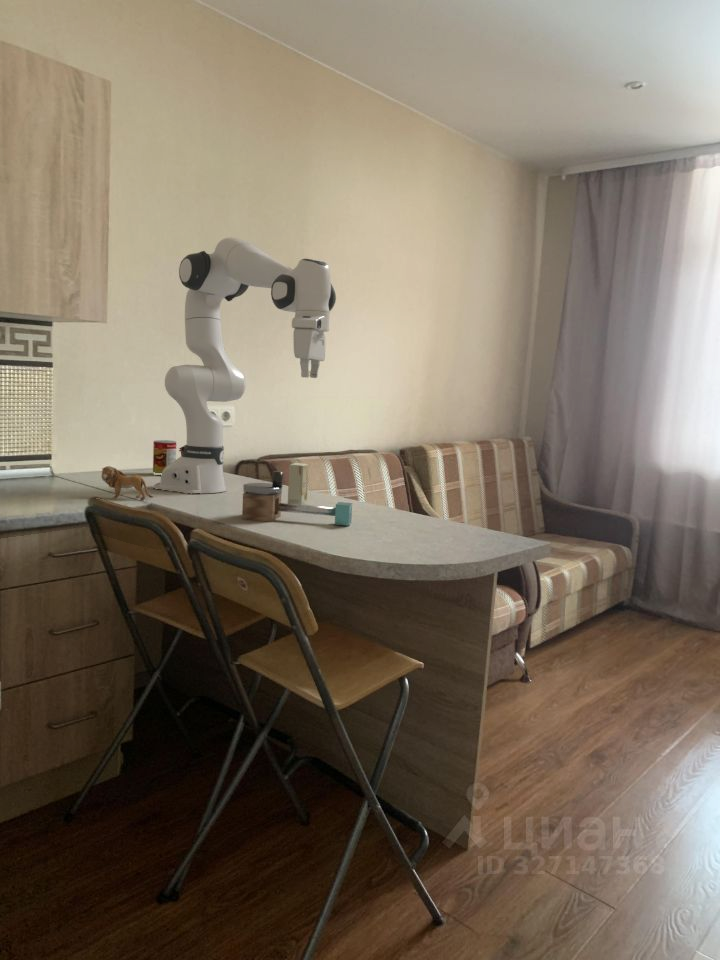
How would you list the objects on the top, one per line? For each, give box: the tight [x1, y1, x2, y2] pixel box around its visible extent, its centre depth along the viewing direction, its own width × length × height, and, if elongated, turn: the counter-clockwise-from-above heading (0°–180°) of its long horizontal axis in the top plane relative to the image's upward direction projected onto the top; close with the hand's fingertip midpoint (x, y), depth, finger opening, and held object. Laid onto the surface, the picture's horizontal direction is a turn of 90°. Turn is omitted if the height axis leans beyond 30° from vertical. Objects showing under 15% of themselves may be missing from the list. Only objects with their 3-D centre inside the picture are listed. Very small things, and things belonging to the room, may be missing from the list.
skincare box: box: [287, 462, 310, 505], centre depth 211 cm, size 6×4×12 cm
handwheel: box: [242, 470, 284, 495], centre depth 190 cm, size 10×10×6 cm
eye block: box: [241, 492, 282, 522], centre depth 190 cm, size 8×8×7 cm
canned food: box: [152, 439, 177, 473], centre depth 258 cm, size 8×8×12 cm
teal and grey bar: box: [279, 501, 353, 526], centre depth 188 cm, size 19×4×5 cm, turn 80°
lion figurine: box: [101, 465, 154, 501], centre depth 208 cm, size 15×5×9 cm, turn 92°
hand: (309, 377), depth 189 cm, fingers open, 8 cm apart
